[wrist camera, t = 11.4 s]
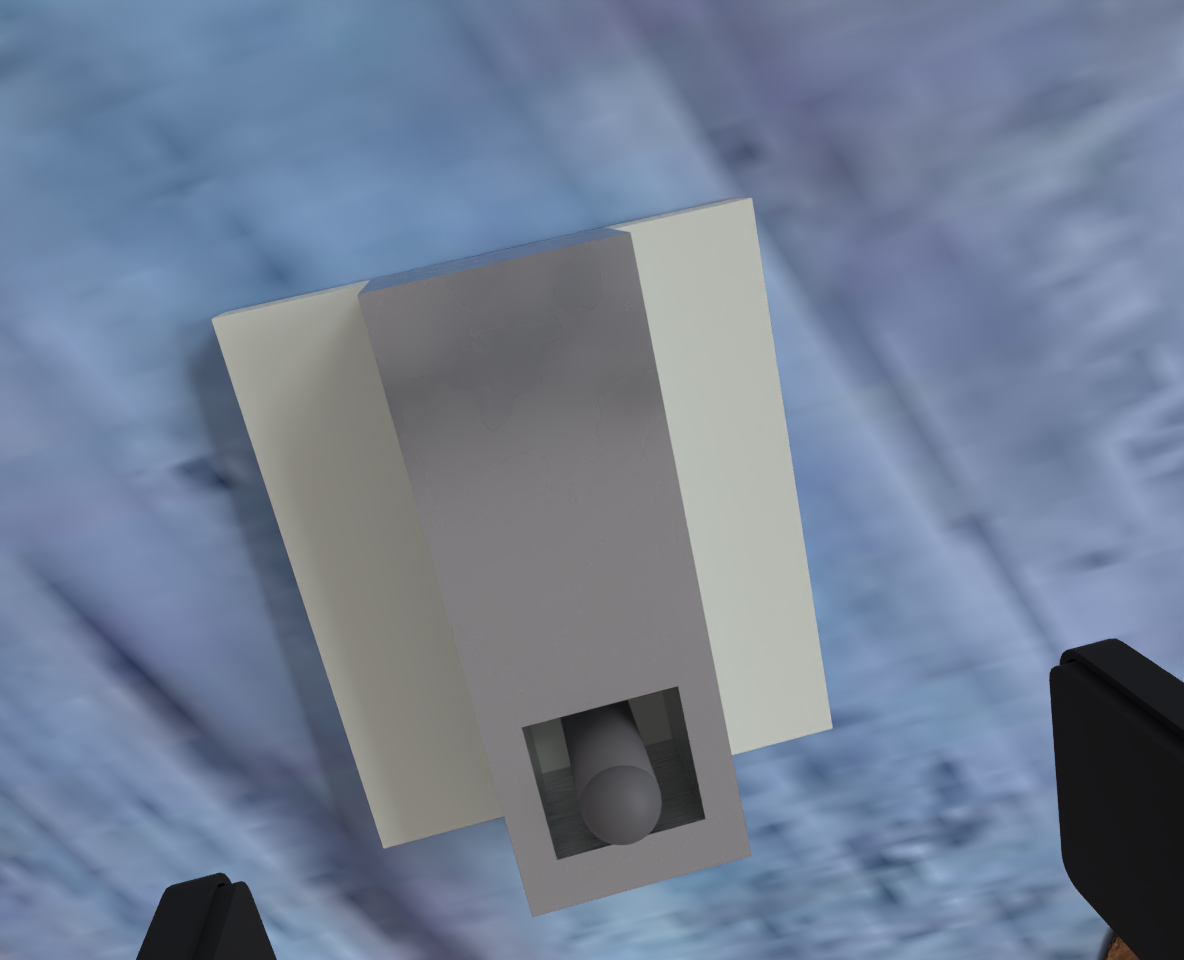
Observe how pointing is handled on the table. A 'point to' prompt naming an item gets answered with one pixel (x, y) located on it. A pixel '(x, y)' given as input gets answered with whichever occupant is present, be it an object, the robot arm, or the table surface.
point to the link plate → (559, 540)
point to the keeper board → (405, 569)
